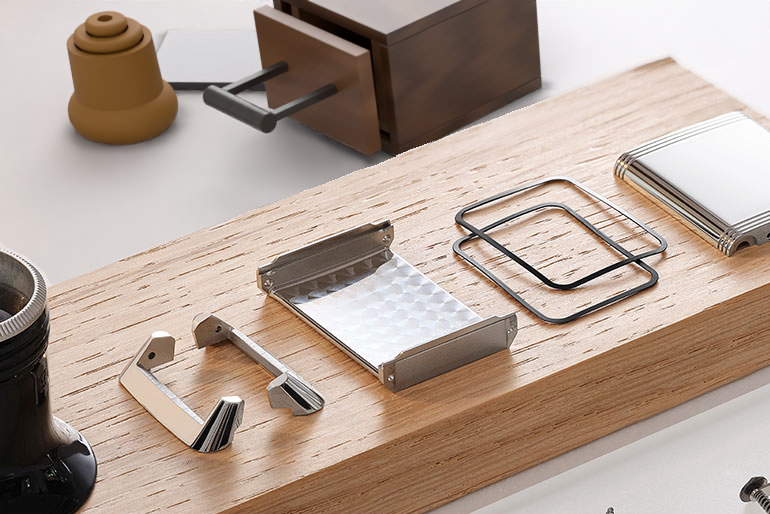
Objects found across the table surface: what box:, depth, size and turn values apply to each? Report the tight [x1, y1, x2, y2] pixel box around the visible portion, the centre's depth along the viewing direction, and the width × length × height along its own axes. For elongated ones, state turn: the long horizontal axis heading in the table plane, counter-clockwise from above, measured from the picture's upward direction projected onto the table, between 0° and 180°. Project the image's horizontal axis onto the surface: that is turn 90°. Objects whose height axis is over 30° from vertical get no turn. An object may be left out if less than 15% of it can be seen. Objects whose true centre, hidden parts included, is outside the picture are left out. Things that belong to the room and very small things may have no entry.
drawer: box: [202, 4, 390, 156], centre depth 144 cm, size 19×11×7 cm, turn 140°
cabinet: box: [272, 0, 543, 157], centre depth 148 cm, size 14×12×9 cm
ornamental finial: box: [66, 10, 179, 146], centre depth 145 cm, size 8×8×8 cm
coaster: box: [156, 29, 266, 91], centre depth 155 cm, size 11×8×1 cm
